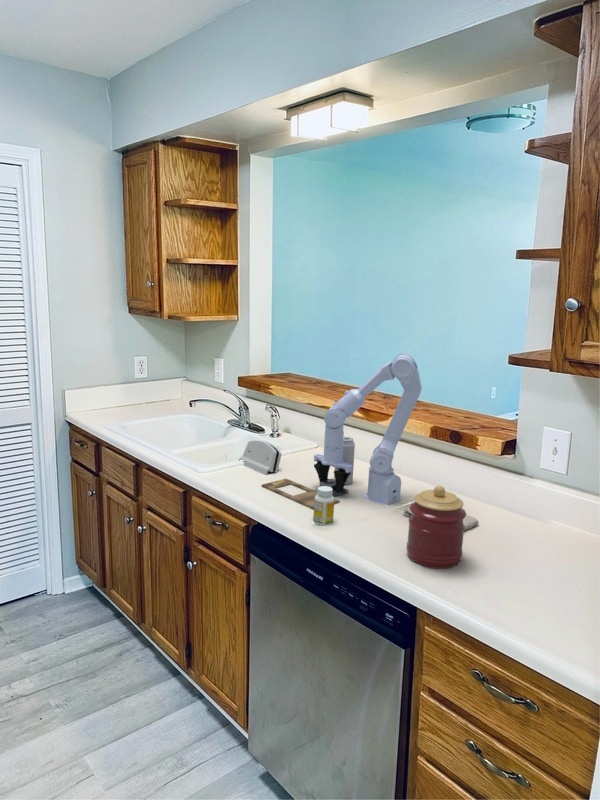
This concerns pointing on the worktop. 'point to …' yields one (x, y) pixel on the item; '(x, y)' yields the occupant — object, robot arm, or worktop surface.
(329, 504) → the supplement bottle
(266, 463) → the hinge
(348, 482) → the energy drink can
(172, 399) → the worktop surface
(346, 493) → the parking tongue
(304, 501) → the board
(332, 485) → the metal block with knob
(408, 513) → the washcloth
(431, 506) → the canister
